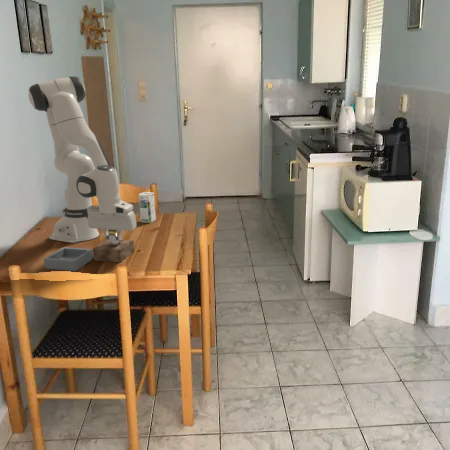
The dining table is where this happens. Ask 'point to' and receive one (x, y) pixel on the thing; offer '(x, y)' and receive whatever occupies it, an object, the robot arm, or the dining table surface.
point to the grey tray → (68, 259)
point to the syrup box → (147, 207)
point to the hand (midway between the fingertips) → (113, 239)
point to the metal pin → (113, 238)
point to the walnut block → (113, 251)
